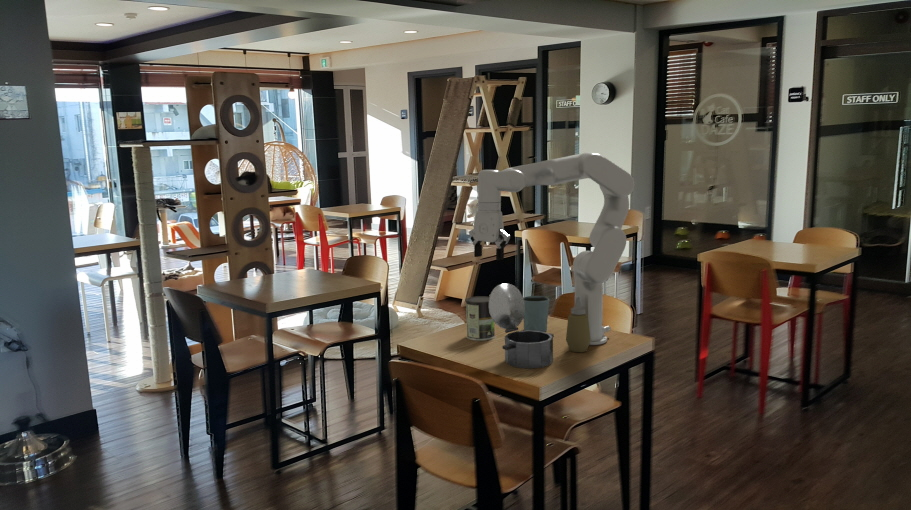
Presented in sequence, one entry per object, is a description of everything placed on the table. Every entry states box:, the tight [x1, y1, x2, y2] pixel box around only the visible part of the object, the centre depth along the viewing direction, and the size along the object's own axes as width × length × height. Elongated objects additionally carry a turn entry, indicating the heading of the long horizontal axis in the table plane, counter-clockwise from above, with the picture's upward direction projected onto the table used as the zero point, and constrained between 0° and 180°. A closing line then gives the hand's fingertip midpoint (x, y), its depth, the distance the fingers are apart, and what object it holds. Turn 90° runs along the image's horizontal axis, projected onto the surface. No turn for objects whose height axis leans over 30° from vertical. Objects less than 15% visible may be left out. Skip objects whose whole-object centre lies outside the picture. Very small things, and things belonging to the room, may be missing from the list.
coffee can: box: [465, 295, 496, 342], centre depth 255 cm, size 10×10×14 cm
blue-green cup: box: [522, 295, 550, 333], centre depth 262 cm, size 10×10×12 cm
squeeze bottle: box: [565, 297, 590, 353], centre depth 235 cm, size 8×8×18 cm
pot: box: [501, 330, 555, 370], centre depth 226 cm, size 21×15×8 cm
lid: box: [488, 283, 525, 334], centre depth 233 cm, size 15×16×3 cm
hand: (488, 258), depth 237 cm, fingers open, 9 cm apart
